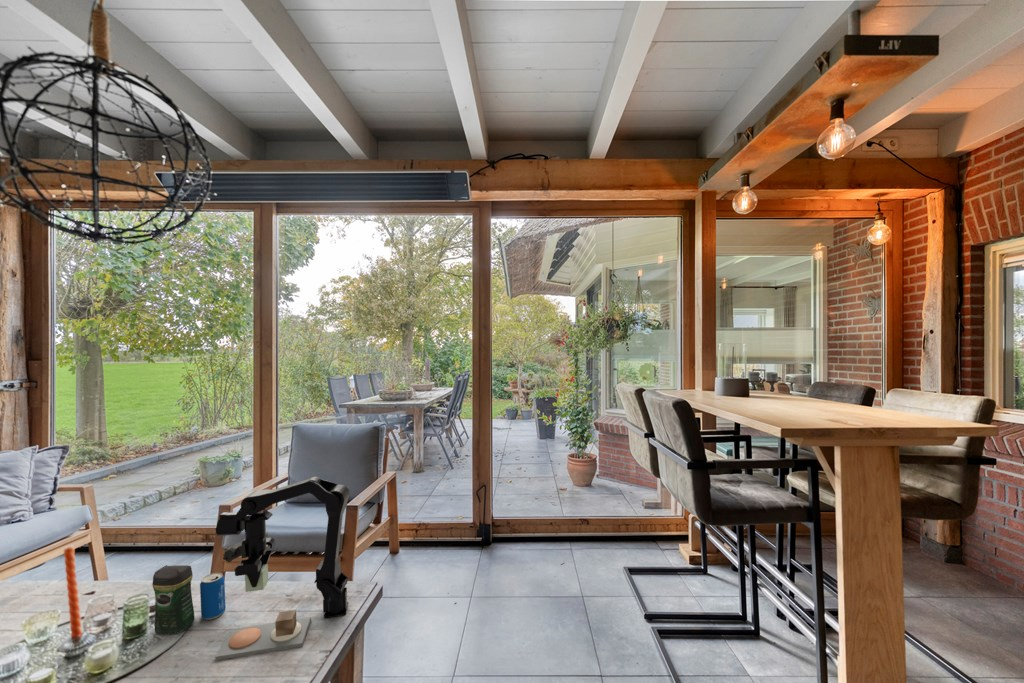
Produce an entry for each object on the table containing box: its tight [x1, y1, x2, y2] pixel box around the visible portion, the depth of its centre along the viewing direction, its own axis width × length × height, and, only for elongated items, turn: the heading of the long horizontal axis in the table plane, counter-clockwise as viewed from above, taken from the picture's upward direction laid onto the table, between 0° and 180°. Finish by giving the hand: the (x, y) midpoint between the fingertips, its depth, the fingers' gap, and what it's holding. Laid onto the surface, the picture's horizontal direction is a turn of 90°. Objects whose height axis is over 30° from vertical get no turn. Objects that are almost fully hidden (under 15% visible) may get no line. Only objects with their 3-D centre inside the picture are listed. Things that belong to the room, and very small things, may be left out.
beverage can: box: [199, 572, 226, 620], centre depth 145 cm, size 6×6×12 cm
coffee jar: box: [151, 564, 196, 635], centre depth 139 cm, size 10×8×19 cm
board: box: [214, 616, 312, 661], centre depth 133 cm, size 22×12×2 cm, turn 103°
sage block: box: [244, 563, 269, 593], centre depth 143 cm, size 5×5×6 cm
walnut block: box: [274, 609, 297, 637], centre depth 134 cm, size 4×4×4 cm
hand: (257, 582), depth 143 cm, fingers closed on sage block, 5 cm apart
